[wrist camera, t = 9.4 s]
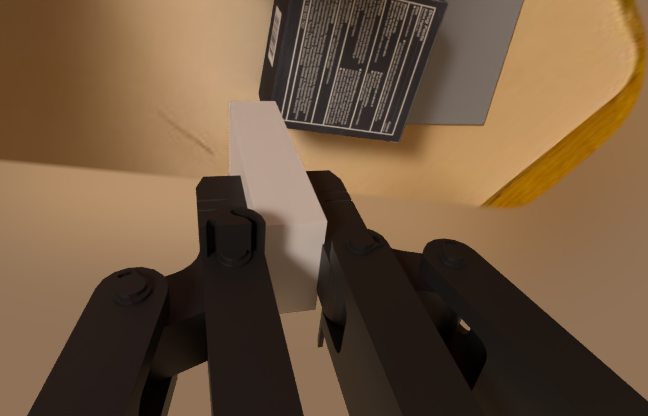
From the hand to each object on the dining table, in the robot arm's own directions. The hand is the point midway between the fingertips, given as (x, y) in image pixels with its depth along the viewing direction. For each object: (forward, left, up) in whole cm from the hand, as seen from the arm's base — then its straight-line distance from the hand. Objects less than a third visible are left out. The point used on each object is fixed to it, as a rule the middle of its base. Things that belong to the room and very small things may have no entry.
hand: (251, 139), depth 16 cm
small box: (+3, -2, -19) cm, 19 cm away
